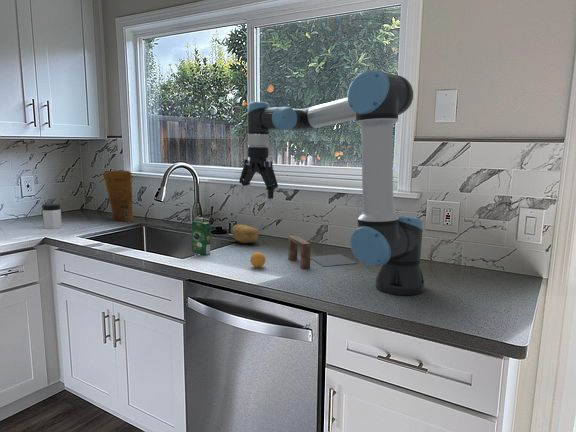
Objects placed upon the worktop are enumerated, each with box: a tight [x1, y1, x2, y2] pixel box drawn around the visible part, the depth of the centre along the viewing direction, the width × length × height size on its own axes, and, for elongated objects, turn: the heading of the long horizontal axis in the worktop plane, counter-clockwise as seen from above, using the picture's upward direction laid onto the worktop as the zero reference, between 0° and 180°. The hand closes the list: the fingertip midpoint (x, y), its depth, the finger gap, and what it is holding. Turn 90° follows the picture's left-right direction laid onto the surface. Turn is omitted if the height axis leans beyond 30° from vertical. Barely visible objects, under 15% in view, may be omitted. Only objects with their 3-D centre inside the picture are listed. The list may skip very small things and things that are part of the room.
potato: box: [231, 224, 259, 244], centre depth 200 cm, size 10×14×8 cm
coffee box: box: [191, 220, 211, 256], centre depth 180 cm, size 8×3×13 cm, turn 57°
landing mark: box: [310, 253, 358, 268], centre depth 173 cm, size 14×14×1 cm
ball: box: [250, 251, 267, 268], centre depth 162 cm, size 6×6×6 cm
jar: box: [41, 202, 63, 230], centre depth 228 cm, size 9×8×12 cm
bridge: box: [287, 234, 312, 270], centre depth 167 cm, size 3×14×9 cm, turn 21°
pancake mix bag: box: [102, 170, 134, 223], centre depth 249 cm, size 7×19×28 cm, turn 64°
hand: (257, 205), depth 164 cm, fingers open, 13 cm apart
